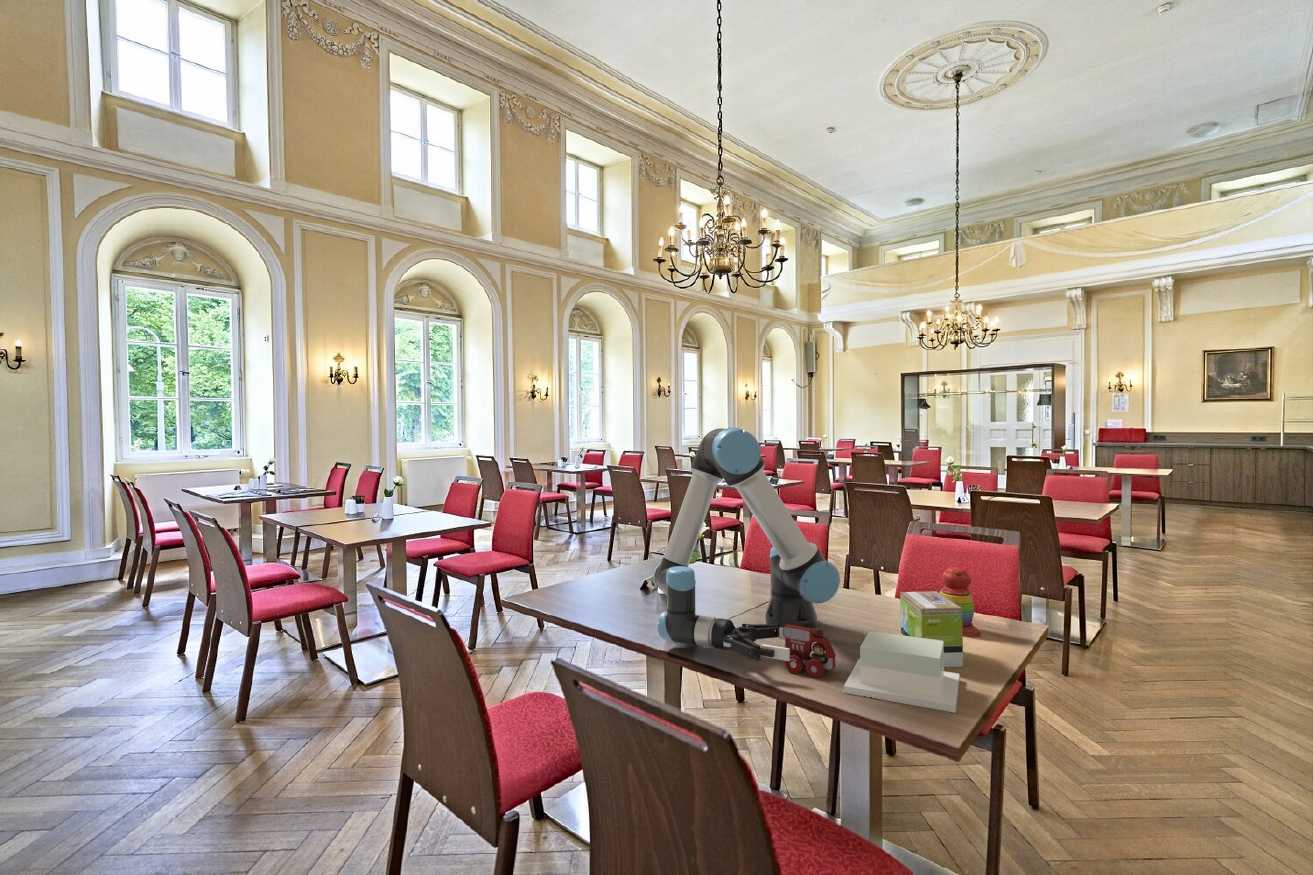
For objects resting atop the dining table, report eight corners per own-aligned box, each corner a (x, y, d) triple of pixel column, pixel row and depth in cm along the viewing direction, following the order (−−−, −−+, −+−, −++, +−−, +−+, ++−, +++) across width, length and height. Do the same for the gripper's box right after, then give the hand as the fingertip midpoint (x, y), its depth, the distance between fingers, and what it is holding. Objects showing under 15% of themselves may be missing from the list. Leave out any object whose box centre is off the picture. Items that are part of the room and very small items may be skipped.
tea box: (899, 646, 164) (898, 590, 164) (938, 646, 164) (937, 590, 163) (922, 668, 149) (921, 606, 149) (964, 668, 149) (964, 606, 148)
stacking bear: (982, 637, 170) (981, 572, 169) (942, 635, 172) (942, 571, 171) (971, 624, 180) (970, 563, 180) (933, 623, 182) (932, 562, 182)
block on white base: (844, 692, 136) (843, 649, 136) (859, 664, 152) (858, 625, 152) (955, 712, 126) (955, 665, 125) (959, 680, 141) (958, 638, 141)
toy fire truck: (830, 681, 142) (829, 636, 142) (778, 671, 149) (778, 627, 149) (839, 671, 148) (838, 627, 148) (789, 661, 155) (788, 619, 155)
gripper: (733, 633, 170) (811, 644, 160) (695, 664, 148) (782, 679, 138) (733, 605, 170) (810, 615, 160) (694, 632, 148) (781, 646, 138)
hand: (797, 645), depth 149 cm, fingers open, 13 cm apart
